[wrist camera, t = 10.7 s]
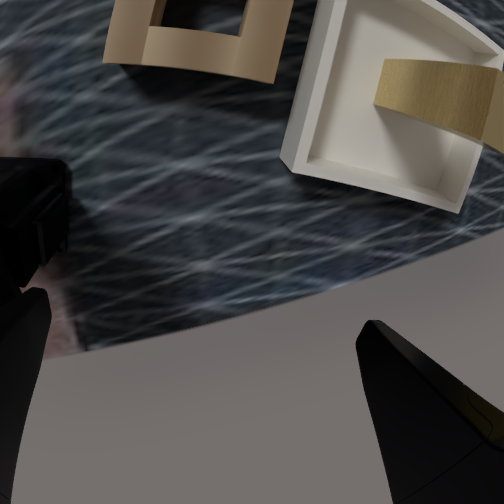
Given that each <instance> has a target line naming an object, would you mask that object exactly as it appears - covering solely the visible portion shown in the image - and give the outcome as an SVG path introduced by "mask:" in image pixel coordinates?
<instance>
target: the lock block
mask: <svg viewBox="0 0 504 504" xmlns="http://www.w3.org/2000/svg"><path fill="white" fill-rule="evenodd" d="M166 1H167V0H116V1H115V5H114V9H113V13H112V18H111V22H110V26H109V31H108V36H107V41H106V46H105V51H104V57H103V63H111V64H126V65H143V66H156V67H167V68H177V69H186V70H194V71H201V72H208V73H215V74H221V75H227V76H233V77H238V78H244V79H249V80H254V81H259V82H264V83H271V84H274V79H275V75H276V71H277V67H278V63H279V59H280V54H281V50H282V46H283V42H284V38H285V34H286V30H287V26H288V22H289V18H290V14H291V9H292V5H293V1H294V0H247V1H246V5H245V9H244V13H243V17H242V21H241V25H240V29H239V33H238V37H236V36H231V35H225V34H219V33H212V32H205V31H197V30H189V29H180V28H169V27H160V26H161V22H162V17H163V13H164V9H165V5H166Z"/></svg>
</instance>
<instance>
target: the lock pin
mask: <svg viewBox="0 0 504 504" xmlns="http://www.w3.org/2000/svg"><path fill="white" fill-rule="evenodd" d="M373 104H375V105H377V106H380V107H383V108H386V109H388V110H391V111H393V112H396V113H399V114H401V115H404V116H406V117H409V118H411V119H414V120H417V121H420V122H422V123H425V124H428V125H431V126H434V127H436V128H439V129H442V130H444V131H447V132H450V133H452V134H455V135H457V136H460V137H462V138H465V139H467V140H469V141H472V142H474V143H476V144H479V145H481V146H483V147H485V148H488V149H490V150H492V151H494V152H496V153H498V154H500V155H503V156H504V73H503V72H502V71H500V70H499V69H497V68H492V67H485V66H479V65H471V64H463V63H455V62H444V61H432V60H416V59H384V62H383V66H382V71H381V75H380V79H379V83H378V87H377V91H376V94H375V98H374V102H373Z"/></svg>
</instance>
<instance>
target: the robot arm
mask: <svg viewBox="0 0 504 504" xmlns="http://www.w3.org/2000/svg"><path fill="white" fill-rule="evenodd" d="M55 165H57V166H58V168H59V171H56V170H55V168H54V166H55ZM68 233H69V213H68V196H67V194H66V193H65V165H64V163H63V162H62V161H61V160H59V159H45V158H20V157H0V504H11V496H12V488H13V481H14V475H15V468H16V463H17V458H18V453H19V447H20V443H21V437H22V434H23V429H24V425H25V421H26V417H27V413H28V409H29V405H30V402H31V398H32V395H33V391H34V388H35V384H36V380H37V377H38V374H39V371H40V367H41V362H42V358H43V353H44V349H45V344H46V340H47V336H48V332H49V328H50V324H51V318H52V313H51V308H50V304H49V299H48V294H47V291H46V290H45V289H42V288H37V287H32V288H30V289H28V290H27V291H25V292H24V293H22V292H21V290H20V288H19V287H22V288H24V287H26V286H27V284H28V283H29V281H30V280H31V278H32V277H33V275H34V273H35V272H36V270H37V269H38V267H39V266H40V267H44V266H45V265H46V264H47V263H48V262H49V260H50V259H51V257H52V256H53V255H59V256H62V255H64V254H65V252H66V251H67V249H68V244H67V234H68ZM59 246H61V247H62V249H60V248H59ZM356 351H357V356H358V361H359V366H360V372H361V377H362V383H363V387H364V392H365V395H366V399H367V402H368V406H369V410H370V413H371V417H372V421H373V424H374V428H375V432H376V435H377V439H378V443H379V447H380V451H381V455H382V459H383V463H384V467H385V471H386V475H387V479H388V483H389V488H390V492H391V497H392V501H393V504H504V412H502V411H501V410H499V409H498V408H496V407H495V406H493V405H492V404H490V403H489V402H488V401H486V400H485V399H483V398H482V397H481V396H479V395H478V394H477V393H475V392H474V391H473V390H471V389H470V388H469V387H468V386H466V385H464V384H463V383H462V382H461V381H460V380H458V379H457V378H456V377H454V376H453V375H452V374H451V373H449V372H448V371H447V370H445V369H444V368H443V367H442V366H440V365H439V364H438V363H436V362H435V361H434V360H432V359H431V358H430V357H428V356H427V355H426V354H425V353H423V352H422V351H421V350H419V349H418V348H417V347H415V346H414V345H413V344H411V343H410V342H409V341H407V340H406V339H405V338H403V337H402V336H401V335H399V334H398V333H397V332H395V331H394V330H393V329H391V328H390V327H389V326H387V325H386V324H385V323H383V322H382V321H380V320H368V321H367V322H366V323H365V325H364V327H363V329H362V330H361V332H360V334H359V336H358V338H357V340H356Z"/></svg>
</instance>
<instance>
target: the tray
mask: <svg viewBox="0 0 504 504" xmlns="http://www.w3.org/2000/svg"><path fill="white" fill-rule="evenodd" d="M384 59H416V60H432V61H444V62H455V63H463V64H471V65H479V66H485V67H492V68H497V69H499V70H500V71H502V67H503V61H504V50H503V49H501V48H500V47H499V46H498V45H497V44H496V43H494V42H493V41H492V40H491V39H489V38H488V37H487V36H486V35H484V34H483V33H482V32H481V31H479V30H478V29H477V28H475V27H474V26H473V25H471V24H470V23H469V22H467V21H466V20H464V19H463V18H462V17H460V16H459V15H457V14H456V13H454V12H453V11H451V10H450V9H448V8H447V7H445V6H444V5H442V4H441V3H439V2H438V1H436V0H318V2H317V6H316V10H315V14H314V18H313V22H312V27H311V31H310V35H309V39H308V43H307V47H306V51H305V55H304V59H303V63H302V67H301V72H300V76H299V80H298V84H297V88H296V92H295V96H294V100H293V104H292V108H291V112H290V116H289V120H288V124H287V128H286V132H285V136H284V140H283V144H282V149H281V153H280V159H281V160H282V161H283V162H284V163H285V165H286V166H287V167H288V168H289V169H290V171H291V172H293V173H299V174H304V175H308V176H313V177H318V178H323V179H327V180H332V181H336V182H341V183H345V184H350V185H354V186H358V187H362V188H367V189H371V190H375V191H379V192H383V193H387V194H390V195H394V196H398V197H402V198H405V199H409V200H413V201H416V202H420V203H423V204H427V205H430V206H434V207H437V208H441V209H444V210H447V211H451V212H454V213H457V214H458V213H459V211H460V209H461V206H462V204H463V201H464V198H465V196H466V193H467V191H468V188H469V185H470V183H471V180H472V177H473V174H474V172H475V169H476V166H477V163H478V160H479V157H480V154H481V151H482V147H483V146H481V145H479V144H476V143H474V142H472V141H469V140H467V139H465V138H462V137H460V136H457V135H455V134H452V133H450V132H447V131H444V130H442V129H439V128H436V127H434V126H431V125H428V124H425V123H422V122H420V121H417V120H414V119H411V118H409V117H406V116H404V115H401V114H399V113H396V112H393V111H391V110H388V109H386V108H383V107H380V106H377V105H375V104H373V102H374V98H375V94H376V91H377V87H378V83H379V79H380V75H381V71H382V66H383V62H384Z"/></svg>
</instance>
